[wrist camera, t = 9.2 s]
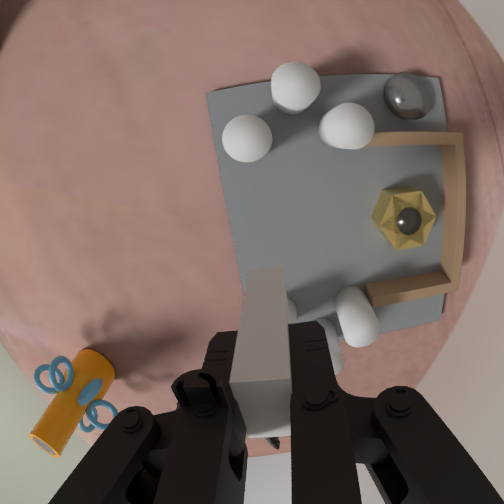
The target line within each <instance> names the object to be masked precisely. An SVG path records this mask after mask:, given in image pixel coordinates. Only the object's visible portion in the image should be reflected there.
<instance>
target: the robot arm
mask: <svg viewBox="0 0 504 504" xmlns="http://www.w3.org/2000/svg"><path fill="white" fill-rule="evenodd" d="M171 389H172V390H173V392H174V394H175V396H176V398H177V400H178V402H179V404H180V406H181V408H180V409H178V410H175V411H171V412H167V413H162V414H157V415H152V413H151V412H150V410H148V409H146V408H145V407H140V406H133V407H128V408H126V409H124V410H122V411H120V412H119V413H118V414H117V415H116V416H115V417H114V419H113V420H112V421H111V422H110V424H109V425H108V426H107V428H106V429H105V430H104V432H103V433H102V434H101V435H100V437H99V438H98V439H97V441H96V442H95V443H94V444H93V446H92V447H91V448H90V450H89V451H88V452H87V454H86V455H85V456H84V458H83V459H82V460H81V461H80V463H79V464H78V465H77V467H76V468H75V469H74V470H73V472H72V473H71V474H70V476H69V477H68V478H67V480H66V481H65V482H64V483H63V485H62V486H61V488H60V489H59V490H58V491H57V493H56V494H55V495H54V497H53V498H52V499H51V500H50V502H49V503H48V504H243V502H244V492H245V481H246V470H247V458H248V451H247V446H246V444H245V438H246V432H247V434H248V437H249V438H265V437H280V436H291V469H292V504H362V502H361V494H360V488H359V482H358V475H357V469H356V463H362V464H365V466H366V468H367V470H368V471H369V473H370V475H371V477H372V479H373V481H374V483H375V485H376V487H377V488H378V490H379V492H380V494H381V496H382V498H383V500H384V502H385V504H504V501H503V500H502V498H501V497H500V496H499V494H498V493H497V491H496V490H495V488H494V487H493V486H492V484H491V483H490V482H489V480H488V479H487V478H486V476H485V475H484V474H483V472H482V471H481V470H480V468H479V467H478V465H477V464H476V463H475V462H474V460H473V459H472V458H471V456H470V455H469V454H468V452H467V451H466V450H465V449H464V447H463V446H462V445H461V443H460V442H459V441H458V440H457V438H456V437H455V436H454V435H453V433H452V432H451V431H450V429H449V428H448V427H447V426H446V424H445V423H444V422H443V421H442V419H441V418H440V417H439V416H438V414H437V413H436V412H435V411H434V410H433V408H432V407H431V406H430V405H429V403H428V402H427V401H426V400H425V399H424V397H423V396H422V395H421V394H420V393H419V392H417V391H416V390H415V389H413V388H410V387H407V386H394V387H391V388H387V389H386V390H384V391H383V392H381V393H380V394H379V395H378V397H377V398H367V397H358V396H353V395H351V394H348V393H346V392H345V391H343V390H342V389H341V388H340V387H339V385H338V383H337V381H336V377H335V373H334V368H333V364H332V359H331V355H330V350H329V346H328V342H327V338H326V333H325V329H324V327H323V326H321V325H320V324H319V323H318V322H317V321H316V320H315V321H308V322H301V323H293V324H290V316H289V308H288V301H287V294H286V286H285V279H284V272H283V266H276V267H269V268H261V269H254V270H248V275H247V281H246V287H245V293H244V298H243V304H242V310H241V316H240V322H239V328H238V331H227V332H217V333H216V335H215V336H214V337H213V338H212V339H211V340H210V342H209V345H208V349H207V354H206V356H205V359H204V363H203V366H202V369H198V370H192V371H189V372H187V373H184V374H182V375H181V376H180V377H178V378H177V379H176V380H175V381H174V383H173V384H172V386H171Z"/></svg>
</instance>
